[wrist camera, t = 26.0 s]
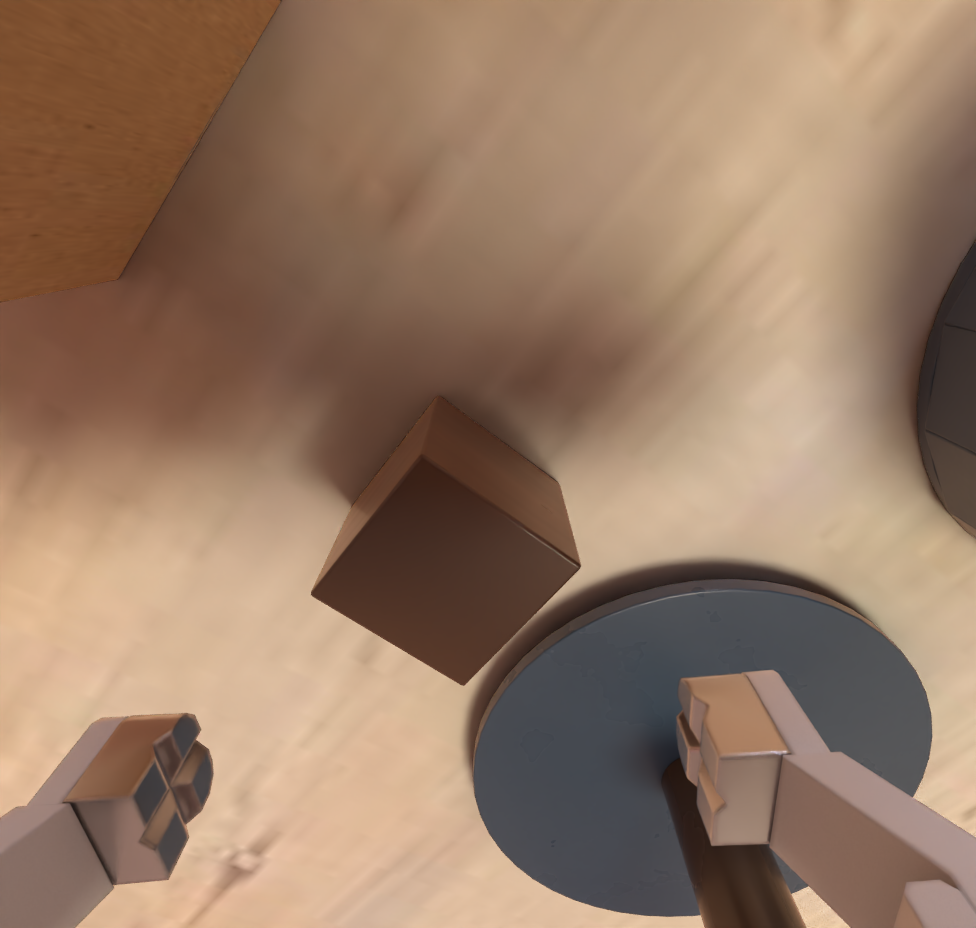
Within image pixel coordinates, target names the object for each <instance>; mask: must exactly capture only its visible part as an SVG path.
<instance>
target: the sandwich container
mask: <svg viewBox="0 0 976 928" xmlns="http://www.w3.org/2000/svg"><path fill="white" fill-rule="evenodd" d="M280 2H281V0H0V302H5V301H10V300H15V299H20V298H25V297H30V296H36V295H41V294H46V293H51V292H56V291H61V290H66V289H72V288H77V287H82V286H87V285H92V284H97V283H102V282H107V281H113V280H118V278H119V276H120V275H121V273H122V271H123V270H124V268H125V266H126V264H127V263H128V261H129V259H130V258H131V256H132V254H133V253H134V251H135V249H136V248H137V246H138V244H139V242H140V241H141V239H142V237H143V236H144V234H145V232H146V231H147V229H148V227H149V226H150V224H151V222H152V220H153V219H154V217H155V215H156V214H157V212H158V210H159V209H160V207H161V205H162V204H163V202H164V200H165V198H166V197H167V195H168V193H169V192H170V190H171V188H172V187H173V185H174V183H175V182H176V180H177V178H178V176H179V175H180V173H181V171H182V170H183V168H184V166H185V165H186V163H187V161H188V160H189V158H190V156H191V155H192V153H193V151H194V150H195V148H196V147H197V145H198V143H199V141H200V139H201V138H202V136H203V134H204V132H205V131H206V129H207V127H208V125H209V124H210V122H211V120H212V119H213V117H214V115H215V113H216V112H217V110H218V108H219V107H220V105H221V103H222V101H223V100H224V98H225V96H226V95H227V93H228V91H229V89H230V88H231V86H232V84H233V83H234V81H235V79H236V77H237V76H238V74H239V72H240V71H241V69H242V67H243V65H244V64H245V62H246V60H247V59H248V57H249V55H250V53H251V52H252V50H253V48H254V47H255V45H256V43H257V41H258V40H259V38H260V36H261V34H262V33H263V31H264V29H265V28H266V26H267V24H268V22H269V21H270V19H271V17H272V16H273V14H274V12H275V10H276V9H277V7H278V5H279V4H280Z"/></svg>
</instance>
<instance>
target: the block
mask: <svg viewBox="0 0 976 928" xmlns="http://www.w3.org/2000/svg"><path fill="white" fill-rule="evenodd" d="M580 567H581V563H580V559H579V555H578V551H577V548H576V544H575V540H574V536H573V533H572V529H571V525H570V521H569V518H568V514H567V510H566V506H565V503H564V499H563V495H562V491H561V488H560V485H559V483H558V482H556V481H555V480H554V479H552V478H551V477H550V476H548V475H547V474H545V473H544V472H543V471H541V470H540V469H539V468H537V467H536V466H535V465H533V464H532V463H530V462H529V461H528V460H526V459H525V458H524V457H522V456H521V455H520V454H518V453H517V452H516V451H514V450H513V449H511V448H510V447H509V446H507V445H506V444H505V443H503V442H502V441H501V440H499V439H498V438H497V437H495V436H494V435H492V434H491V433H490V432H488V431H487V430H486V429H484V428H483V427H482V426H480V425H479V424H478V423H476V422H475V421H473V420H472V419H471V418H469V417H468V416H467V415H465V414H464V413H463V412H461V411H460V410H459V409H457V408H456V407H454V406H453V405H452V404H450V403H449V402H448V401H446V400H445V399H444V398H442V397H441V396H437V397H436V398H435V399H434V400H433V402H432V403H431V404H430V406H429V407H428V408H427V409H426V411H425V412H424V413H423V415H422V416H421V417H420V419H419V420H418V421H417V422H416V424H415V425H414V426H413V428H412V429H411V430H410V432H409V433H408V434H407V435H406V437H405V438H404V439H403V441H402V442H401V443H400V444H399V446H398V447H397V448H396V450H395V451H394V452H393V454H392V455H391V456H390V457H389V459H388V460H387V461H386V463H385V464H384V465H383V466H382V468H381V469H380V470H379V472H378V473H377V474H376V476H375V477H374V478H373V479H372V481H371V482H370V483H369V485H368V486H367V487H366V489H365V490H364V491H363V492H362V494H361V495H360V496H359V498H358V499H357V500H356V501H355V503H354V504H353V505H352V507H351V509H350V511H349V513H348V515H347V517H346V519H345V522H344V524H343V526H342V528H341V530H340V532H339V534H338V536H337V538H336V541H335V543H334V545H333V547H332V549H331V551H330V553H329V555H328V557H327V559H326V562H325V564H324V566H323V568H322V570H321V572H320V574H319V576H318V578H317V580H316V583H315V585H314V587H313V589H312V591H311V595H312V596H313V597H314V598H316V599H318V600H319V601H321V602H323V603H324V604H326V605H328V606H329V607H331V608H333V609H334V610H336V611H338V612H339V613H341V614H343V615H344V616H346V617H348V618H350V619H351V620H353V621H355V622H356V623H358V624H360V625H361V626H363V627H365V628H366V629H368V630H370V631H371V632H373V633H375V634H376V635H378V636H380V637H381V638H383V639H385V640H386V641H388V642H390V643H391V644H393V645H395V646H397V647H398V648H400V649H402V650H403V651H405V652H407V653H408V654H410V655H412V656H413V657H415V658H417V659H418V660H420V661H422V662H423V663H425V664H427V665H428V666H430V667H432V668H433V669H435V670H437V671H438V672H440V673H442V674H444V675H445V676H447V677H449V678H450V679H452V680H454V681H455V682H457V683H459V684H460V685H465V684H466V683H467V682H468V681H469V680H470V679H471V678H472V677H473V676H474V675H475V674H476V673H477V672H478V671H479V670H480V669H481V668H482V667H483V666H484V665H485V664H486V663H487V662H488V661H489V660H490V659H491V658H492V657H493V656H494V655H495V654H496V653H497V652H498V651H499V650H500V649H501V648H502V647H503V646H504V645H505V644H506V643H507V642H508V641H509V640H510V639H511V638H512V637H513V636H514V635H515V634H516V633H517V632H518V631H519V630H520V629H521V628H522V627H523V626H524V625H525V624H526V623H527V622H528V621H529V620H530V619H531V618H532V617H533V616H534V615H535V614H536V613H537V611H538V610H539V609H540V608H541V607H542V606H543V605H544V604H545V603H546V602H547V601H548V600H549V599H550V598H551V597H552V596H553V595H554V594H555V593H556V592H557V591H558V590H559V589H560V588H561V587H562V586H563V585H564V584H565V583H566V582H567V581H568V580H569V579H570V578H571V577H572V576H573V575H574V574H575V573H576V572H577V571H578V570H579V569H580Z"/></svg>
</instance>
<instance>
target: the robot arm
mask: <svg viewBox="0 0 976 928" xmlns="http://www.w3.org/2000/svg"><path fill="white" fill-rule="evenodd" d="M677 697H678V699H679V702H680V704H681V707H682V709H683V710H682V711H681V712H680V713H679V714H678V715H677V716H676V736H677V743H678V751H679V754H680V758H681V762H682V765H683V768H684V771H685V774H686V777H687V779H688V780H690V781H691V782H692V783H693V784H694V785H696V786H697V803H696V805H697V807H698V810H699V813H700V815H701V818H702V821H703V824H704V826H705V829H706V832H707V834H708V837H709V840H710V842H711V845H712V846H723V845H753V844H770V848H771V849H772V850H773V851H774V852H775V853H776V854H777V855H778V856H779V857H780V858H781V859H782V860H783V861H784V862H785V863H786V864H787V865H788V866H789V867H790V868H791V869H792V870H793V871H794V872H795V873H796V874H797V875H798V876H799V877H800V878H801V879H802V880H803V881H804V882H805V883H806V884H807V885H808V886H809V887H810V888H811V889H812V890H813V891H814V892H815V893H816V894H817V895H818V896H819V897H820V898H821V899H822V900H823V901H825V902H826V903H827V904H828V905H829V906H830V907H831V908H832V909H833V910H834V911H835V912H836V913H837V914H838V915H839V916H840V917H841V918H842V919H843V920H844V921H845V922H846V923H847V924H848V925H849V926H850V927H851V928H976V837H974V836H972V835H971V834H969V833H968V832H966V831H965V830H963V829H961V828H960V827H958V826H957V825H955V824H954V823H952V822H950V821H949V820H947V819H946V818H944V817H943V816H941V815H939V814H938V813H936V812H935V811H933V810H932V809H930V808H928V807H927V806H925V805H924V804H922V803H921V802H919V801H917V800H916V799H914V798H913V797H911V796H910V795H908V794H906V793H905V792H903V791H902V790H900V789H899V788H897V787H895V786H894V785H892V784H891V783H889V782H888V781H886V780H884V779H883V778H881V777H880V776H878V775H877V774H875V773H873V772H872V771H870V770H869V769H867V768H866V767H864V766H862V765H861V764H859V763H858V762H856V761H855V760H853V759H851V758H850V757H848V756H847V755H845V754H844V753H842V752H830V750H829V749H828V747H827V746H826V744H825V743H824V741H823V740H822V738H821V737H820V735H819V734H818V732H817V731H816V729H815V728H814V726H813V725H812V723H811V722H810V720H809V719H808V717H807V716H806V714H805V713H804V711H803V709H802V708H801V706H800V705H799V703H798V702H797V700H796V699H795V697H794V696H793V694H792V693H791V691H790V690H789V688H788V687H787V685H786V684H785V682H784V681H783V679H782V678H781V676H780V675H779V674H778V673H777V672H775V671H774V670H764V671H752V672H742V673H730V674H718V675H706V676H693V677H681V678H680V680H679V683H678V692H677ZM200 731H201V728H200V726H199V723H198V721H197V719H196V716H195V715H193V714H188V713H179V714H157V715H135V716H129V717H104V718H101V719H99V720H97V721H95V722H94V723H92V724H91V725H90V726H89V728H88V729H87V730H86V731H85V733H84V734H83V735H82V736H81V738H80V739H79V740H78V741H77V743H76V744H75V745H74V747H73V748H72V749H71V750H70V752H69V753H68V754H67V755H66V757H65V758H64V759H63V760H62V762H61V763H60V764H59V765H58V767H57V768H56V769H55V770H54V772H53V773H52V774H51V776H50V777H49V778H48V779H47V781H46V782H45V783H44V784H43V786H42V787H41V788H40V789H39V791H38V792H37V793H36V794H35V796H34V797H33V798H32V799H31V801H30V802H29V803H28V805H27V806H20V807H16V808H14V809H13V810H11V811H10V812H8V813H7V814H5V815H4V816H2V817H1V818H0V928H75V927H76V926H77V925H78V924H79V923H80V922H81V921H82V920H83V919H84V918H85V917H86V916H87V915H88V914H89V913H90V912H91V911H92V910H93V909H94V908H95V907H96V906H97V905H98V904H99V903H100V902H101V901H102V900H103V899H104V898H105V897H106V896H107V895H108V894H109V893H110V892H111V891H112V890H113V888H114V886H113V885H118V884H129V883H140V882H150V881H161V880H169V877H170V875H171V873H172V871H173V869H174V867H175V865H176V863H177V861H178V859H179V857H180V855H181V853H182V851H183V849H184V847H185V845H186V843H187V841H188V838H189V835H188V830H187V826H186V824H187V823H188V822H189V821H191V820H192V819H193V818H194V817H195V816H196V815H197V814H199V813H200V812H201V811H202V809H203V807H204V805H205V803H206V801H207V798H208V796H209V794H210V790H211V785H212V779H213V761H212V758H211V755H210V752H209V749H208V748H206V747H205V746H204V745H202V744H201V743H200V742H198V741H197V740H196V739H197V737H198V735H199V733H200Z"/></svg>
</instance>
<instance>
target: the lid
mask: <svg viewBox="0 0 976 928" xmlns="http://www.w3.org/2000/svg"><path fill="white" fill-rule="evenodd" d="M764 670H774V671H775V672H777V673H778V674H779V675H780V676H781V678H782V679H783V681H784V682H785V684H786V685H787V687H788V688H789V690H790V691H791V693H792V694H793V696H794V697H795V699H796V700H797V702H798V703H799V705H800V706H801V708H802V709H803V711H804V713H805V714H806V716H807V717H808V719H809V720H810V722H811V723H812V725H813V726H814V728H815V729H816V731H817V732H818V734H819V735H820V737H821V738H822V740H823V741H824V743H825V744H826V746H827V747H828V749H829V750H830V752H842V753H844V754H845V755H847V756H848V757H850V758H851V759H853V760H855V761H856V762H858V763H859V764H861V765H862V766H864V767H866V768H867V769H869V770H870V771H872V772H873V773H875V774H877V775H878V776H880V777H881V778H883V779H884V780H886V781H888V782H889V783H891V784H892V785H894V786H895V787H897V788H899V789H900V790H902V791H903V792H905V793H906V794H908V795H910V796H911V797H913V796H914V794H915V792H916V790H917V788H918V786H919V784H920V783H921V781H922V778H923V775H924V772H925V769H926V766H927V763H928V760H929V756H930V749H931V742H932V718H931V711H930V707H929V703H928V699H927V695H926V691H925V689H924V687H923V685H922V683H921V681H920V679H919V676H918V674H917V672H916V670H915V669H914V668H913V666H912V665H911V664H910V662H909V661H908V659H907V658H906V657H905V655H904V654H903V653H902V651H901V650H900V649H899V648H898V647H897V646H896V645H895V644H894V643H893V642H892V641H891V640H890V639H889V638H888V637H887V636H886V635H885V634H884V633H883V632H882V631H881V630H879V629H878V628H877V627H876V626H875V625H874V624H873V623H872V622H870V621H869V620H867V619H866V618H864V617H863V616H861V615H860V614H858V613H857V612H855V611H854V610H852V609H851V608H849V607H846V606H844V605H842V604H840V603H838V602H836V601H834V600H832V599H830V598H827V597H825V596H823V595H819V594H816V593H813V592H810V591H807V590H804V589H800V588H797V587H794V586H788V585H783V584H777V583H772V582H766V581H757V580H741V579H716V580H696V581H689V582H683V583H676V584H670V585H664V586H659V587H656V588H652V589H648V590H644V591H641V592H637V593H633V594H630V595H627V596H624V597H622V598H619V599H617V600H614V601H611V602H609V603H606V604H604V605H601V606H598V607H597V608H595V609H593V610H591V611H589V612H587V613H585V614H583V615H581V616H579V617H577V618H575V619H573V620H571V621H570V622H568V623H567V624H565V625H564V626H562V627H561V628H559V629H558V630H556V631H555V632H553V633H552V634H550V635H549V636H547V637H546V638H545V639H543V640H542V641H541V642H540V643H539V644H538V645H536V646H535V647H534V648H533V649H532V650H531V651H529V652H528V653H527V654H526V655H525V656H524V657H523V658H522V659H521V660H520V661H519V662H518V663H517V665H516V666H515V667H514V668H513V669H512V670H511V671H510V672H509V674H508V675H507V676H506V677H505V678H504V680H503V681H502V683H501V684H500V686H499V687H498V689H497V690H496V692H495V693H494V695H493V696H492V698H491V700H490V702H489V704H488V706H487V708H486V711H485V713H484V715H483V717H482V719H481V722H480V726H479V729H478V733H477V737H476V740H475V748H474V759H473V782H474V793H475V798H476V802H477V805H478V809H479V812H480V815H481V818H482V820H483V822H484V824H485V826H486V828H487V830H488V832H489V834H490V835H491V837H492V838H493V840H494V841H495V842H496V844H497V845H498V847H499V848H500V849H501V851H502V852H503V853H504V854H505V855H506V856H507V857H508V858H509V859H510V860H511V861H512V862H513V863H514V864H515V865H516V866H517V867H518V868H520V869H521V870H522V871H523V872H525V873H526V874H527V875H529V876H530V877H531V878H532V879H534V880H536V881H537V882H539V883H541V884H542V885H544V886H546V887H548V888H549V889H551V890H553V891H555V892H557V893H559V894H562V895H564V896H566V897H568V898H571V899H573V900H576V901H579V902H582V903H585V904H588V905H591V906H594V907H598V908H603V909H607V910H611V911H616V912H621V913H629V914H636V915H644V916H665V917H674V916H697V915H701V917H702V920H703V924H704V927H705V928H806V926H805V924H804V921H803V919H802V917H801V915H800V912H799V910H798V908H797V906H796V904H795V901H794V899H793V897H792V895H791V894H792V893H794V892H797V891H799V890H801V889H803V888H806V887H808V885H807V884H806V883H805V882H804V881H803V880H802V879H801V878H800V877H799V876H798V875H797V874H796V873H795V872H794V871H793V870H792V869H791V868H790V867H789V866H788V865H787V864H786V863H785V862H784V861H783V860H782V859H781V858H780V857H779V856H778V855H777V854H776V853H775V852H774V851H773V850H772V849H771V848H770V844H753V845H723V846H712V845H711V842H710V840H709V837H708V834H707V832H706V829H705V826H704V824H703V821H702V818H701V815H700V813H699V810H698V807H697V805H696V803H697V786H696V785H694V784H693V783H692V782H691V781H690V780H688V779H687V777H686V774H685V771H684V768H683V765H682V762H681V758H680V754H679V751H678V743H677V736H676V716H677V715H678V714H679V713H680V712H681V711H682V710H683V709H682V707H681V704H680V702H679V699H678V697H677V692H678V683H679V680H680V678H681V677H693V676H706V675H718V674H730V673H742V672H752V671H764Z"/></svg>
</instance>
